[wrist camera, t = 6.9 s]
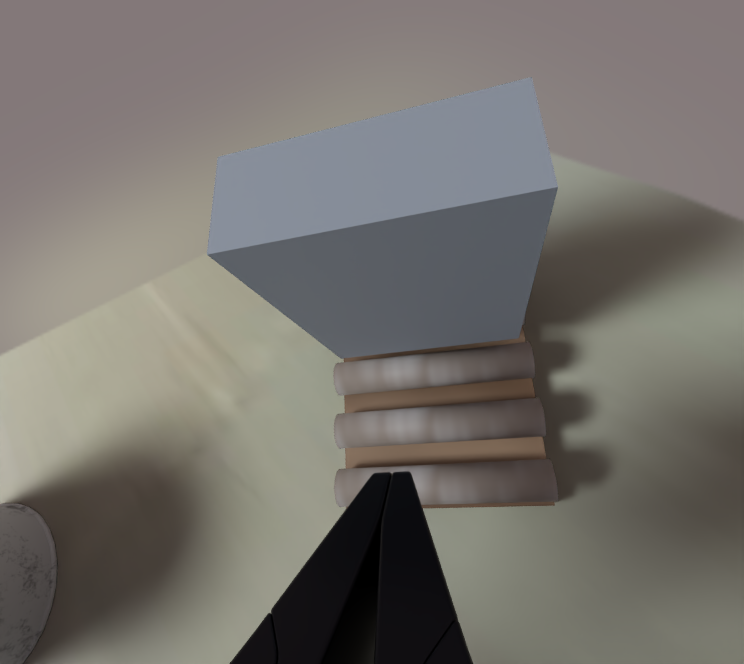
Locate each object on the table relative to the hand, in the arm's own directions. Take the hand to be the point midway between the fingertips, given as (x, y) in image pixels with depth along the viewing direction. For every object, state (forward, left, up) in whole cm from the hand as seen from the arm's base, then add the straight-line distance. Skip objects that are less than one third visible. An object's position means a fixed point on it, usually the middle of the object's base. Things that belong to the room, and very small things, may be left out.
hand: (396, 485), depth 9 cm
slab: (+2, +7, -8) cm, 11 cm away
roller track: (+1, +4, -11) cm, 12 cm away
